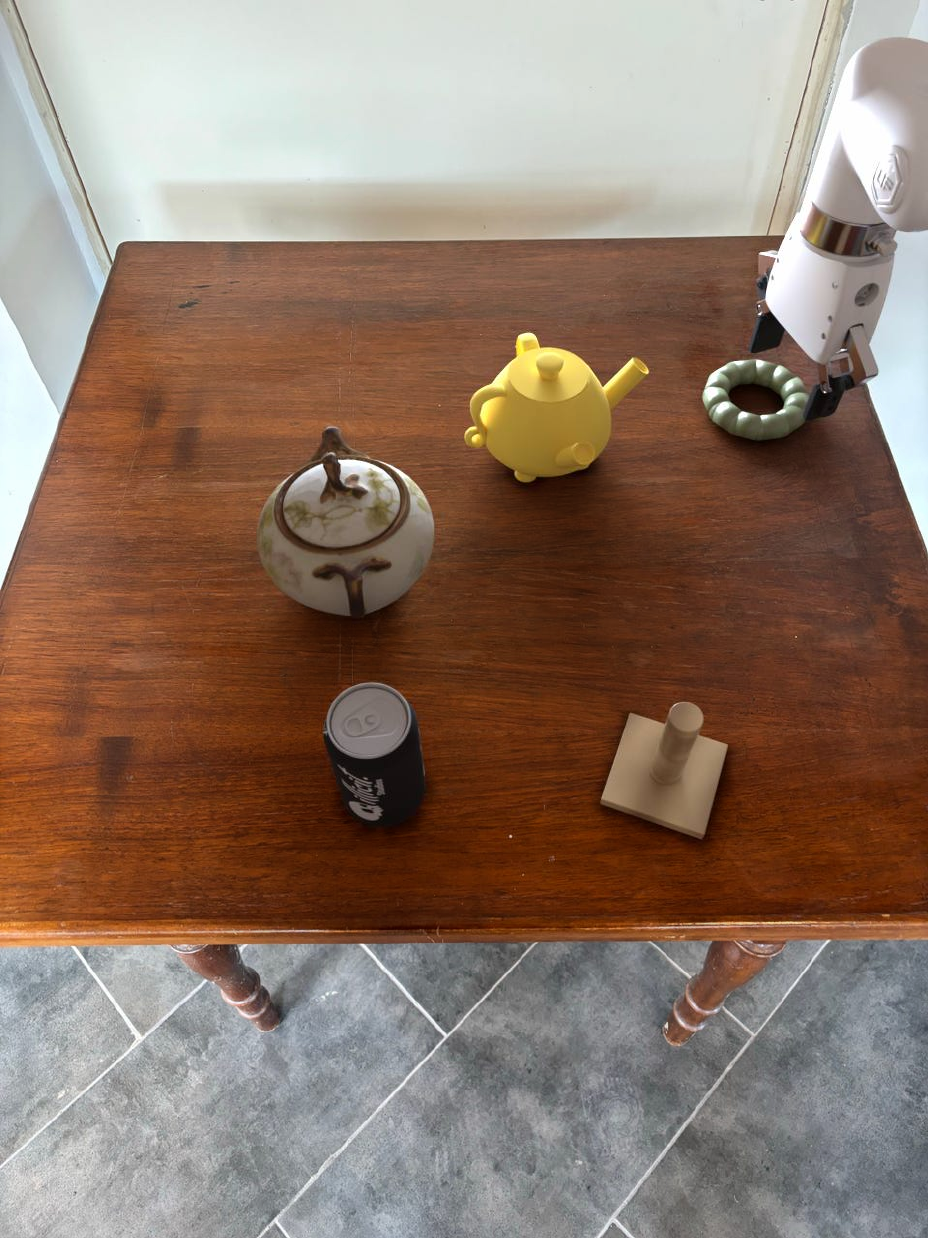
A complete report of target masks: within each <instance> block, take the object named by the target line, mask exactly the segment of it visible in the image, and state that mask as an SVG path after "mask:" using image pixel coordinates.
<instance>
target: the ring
mask: <svg viewBox="0 0 928 1238" xmlns="http://www.w3.org/2000/svg"><path fill="white" fill-rule="evenodd" d="M750 384H751V385H753V384H754V385H757V386H761V387H764V388H765V387H766V388H769V389H770V390H771V391H773V392H775V393H776V394H778V395H779V396H780V398H781V399H782V402H783V403H784V404H783V407H782V409H780V410H779V411H777V412H776V413H771V414H770V413H769V414H762V415H759V414H755V413H751V412H748V411H747V412H746V411H743V410H742V409H740V407H737V406H736V405H735V404H734V403H732V402H731V399H730V397H729V392H730V390H732V389H733V388H735V387H737V386H743V385H750ZM809 397H810V394H809V392H808V389H807V388H806V386H805V384H804V383H803V380H802V379H801V378H800V377H799V376H798V375H796V374H795V373H793V372H791V371H790V370H789V369H787V368H786V367H785V366H783V365H781V364H779V363H774V362H769V361H766V360H761V359H756V358H753V359H744V360H736V361H730V362H728V363H726V364H725V365H723V366H722V367H720V368H718V369H717V370H715V371H714V372H712V373H711V374H710V375H709V377H708V379H707V381H706V384H705V387H704V389H703V392H702V402H703V405H704V407H705V410H706V411H707V413H708V416H709V419H711V421H712V422H714V423H716V425H718V426H719V427H720V428H721V429H723V430H724V431H725V432H727V433H728V434H730V435H733V436H735V437H740V438H743V439H748V440H751V441H752V440H753V441H757V442H759V441H768V440H776V439H782V438H785V437H786V436H788V435H789V434H791V433H793V432H794V431H795V430H797V429H799V428H800V427H801V426H802V425H803V424H805V422H806V421H805V420H804V419H803V417H802V416H803V412H804V409H805V407H806V404H807V402H808V399H809Z"/></svg>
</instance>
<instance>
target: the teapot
mask: <svg viewBox="0 0 928 1238" xmlns="http://www.w3.org/2000/svg"><path fill="white" fill-rule="evenodd" d="M515 349H516V357H515V358H514V359H512V361H510V362H509V363H508V364H507V365H506V366H505V367H504V368H503V369H502V371H500V372H499V374H497V376H496V377H495V378H494V380H493V381H492V383H491V384H489V385H485V386H483V387H482V388H480V389H478V390H476V392H474V393H473V395H472V396H471V399H470V402H469V412H470V415H471V418H472V421H473V423H474V426H470V427H468V429H467V430H466V431H465V433H464V442H465V444H466V445H467V446H468V447H470V448H471V449H479V448H482V447H484V446H485V447H486V448H487V450H488V451H489V453H490V454H491V455H492V456H493V457H494V458H495V459H496V460H497V461H499V462H500V463H501V464H502V465H505V466H506V467H507V468H509V469H511V470H512V471H514V477H515V478H516V479H517V480H518V481H520V482H522V483H530V482H533V481H535V480H536V479H537V478H538V477H539V478H552V477H559V476H564V475H568V474H571V473H574V472H577V471H581V470H585V469H586V468H588V467H589V466H590V464H591V463H592V462H593V461H595V460H597V458H598V457H599V456H600V455H601V454H602V452H603V451H604V450H605V448H606V447H607V445H608V443H609V440H610V437H611V432H612V431H611V430H612V415H611V413H612V412H611V411H612V410H613V409H614V408H615V406H617V405H618V404H619V403H620V402H621V401H622V400H623V399H624V398H625V397H626V396H627V395H628V394H629V393H630V392H631V391H632V390H633V389H634V388H635V387H637V385H638V384H639V383H640V382H641V381H642V380H643V379H644V378H646V376H648V375H649V373H650V372H649V371H650V370H649V369H648V367H647V365H646V364H645V363H644V362H643V361H642V360H640V359H639V358H637V357H632V358H631V359H630V360H629V361H628V362H627V363H626V364H625V365H624V366H623V367H622V368H621V369H620V370H619V371H618V372H617V373H616V374H615V375H614V376H613V377H612V378H611V379H610V380H609V381H608V382H607V383H606V384H605V385H604V386H602V384H601V382H600V380H599V378H598V377H597V376H596V375H595V373H594V372H593V371H592V369H591V368H590V366H589V365H588V363H586V362H585V361H584V360H583V359H582V358H581V357H579V356H578V355H576V354H575V353H573V352H571V351H569V350H566V349H562V348H558V347H540V344H539V341H538V338H537V337H536V335H535V334H533V333H531V332H525V333H522V334H520V335H518V337H517V338H516V345H515Z"/></svg>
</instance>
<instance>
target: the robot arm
mask: <svg viewBox="0 0 928 1238" xmlns="http://www.w3.org/2000/svg"><path fill="white" fill-rule="evenodd" d="M897 231H899V232H901V233H920V232H926V231H928V41H925V40H921V39H917V38H912V37H904V36H903V37H902V36H891V37H884V38H879V39H876V40H873V41H871V42H868V43H866V44H865V45H863V46H862V47H860V48H859V49H858V50H857V51H856V52H855V53H854V54H853V55H852V57H851V58H850V59H849V62H848V63H847V65H846V67H845V69H844V72H843V75H842V78H841V80H840V84H839V87H838V91H837V94H836V97H835V100H834V103H833V106H832V110H831V113H830V116H829V119H828V123H827V125H826V129H825V132H824V135H823V139H822V141H821V144H820V148H819V151H818V154H817V158H816V161H815V163H814V166H813V171H812V174H811V177H810V180H809V183H808V187H807V190H806V194H805V196H804V199H803V203H802V206H801V209H800V210H799V211H798V212H797V213H796V215H795V217H794V218H793V221H792V222H791V224H790V226H789V228H788V230H787V232H786V234H785V236H784V239H783V240H782V243H781V245H780V248H779V250H774V249H772V250H768V251H764V252H760V253H759V254H758V257H757V269H758V275H759V277H758V278H756V282H755V283H756V288H757V295H758V299H759V301H757V302H756V304H755V312H756V314H757V315H758V316H757V318H756V321H755V325H754V327H753V331H752V334H751V338H750V340H749V344H748V347H747V349H748V351H749V352H750V353H751V354H753V355H756V354H758V353H763V352H766V351H769V350H774V349H776V348H778V347H780V345H781V343H782V340H783V337H784V334H785V331H786V332H787V333H788V334H789V335H790V336H791V338H792V339H793V341H795V342H796V344H797V345H798V346H799V347H800V348H801V349H802V350H803V352H804V353H805V354H807V356H808V357H809V358H810V359H811V360H812V361H814V362H816V363H817V371H818V379H819V383H816V384H815V385H814V386H813V387H812V389H811V391H810V394H809V396H810V397H809V399H808V402H807V404H806V407H805V409H804V412H803V416H802V417H803V419H804V420H805V422H812V421H815V420H818V419H821V418H822V419H823V418H827V417H830V416H832V415H834V414H835V412H836V411H837V409H838V407H839V405H840V402H841V400H842V398H843V395H844V393H845V391H849V390H852V389H856V388H860V387H863V386H865V385H866V384H867V383H868V382H870V381H871V380H873V379H875V378H876V377H877V376H878V375H879V367H878V364H877V362H876V359H875V355H874V354H873V351H872V348H871V346H870V343H871V341H872V339H873V336H874V334H875V332H876V329H877V325H878V323H879V320H880V317H881V314H882V311H883V308H884V306H885V302H886V299H887V296H888V292H889V288H890V283H891V281H892V275H893V270H894V269H893V268H894V264H895V255H896V254H895V252H896V251H897V248H898V242H897V241H896V240H895V239H894V238H895V236H896V234H897ZM836 361H839V366H840V373H839V374H837V375H834V374H833V366H832V362H836Z"/></svg>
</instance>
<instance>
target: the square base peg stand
mask: <svg viewBox="0 0 928 1238" xmlns="http://www.w3.org/2000/svg"><path fill="white" fill-rule="evenodd" d="M704 721H705V720H704V714H703V712H702V710H701V709H700V708H699V706H697V705H695V704H694V703H691V702H688V701H681V702H677V703H675V704H674V705H672V706H671V708H670V709H669V712H668V714H667V717H666V720H665V723H663V722H660V721H657V720H654V719H650V718H647V717H644V716H641V715H638V714H635V713H632V712H630V713H629V714H628V718H627V720H626V724H625V726H624V729H623V732H622V736H621V739H620V742H619V745H618V748H617V749H616V754H615V757H614V758H613V763H612V765H611V768H610V771H609V774H608V777H607V780H606V782H605V783H606V784H605V786H604V789H603V792H602V795H601V799H600V802H599V803H600V805H601V806H605V807H608V808H611V809H614V810H616V811H619V812H623V813H625V814H628V815H631V816H634V817H636V818H639V819H642V820H645V821H648V822H651V823H654V824H657V825H660V826H662V827H665V828H668V829H671V830H673V831H677V832H679V833H682V834H685V835H687V836H690V837H692V838H693V837H694V838H697V839H699V840H703V839H704V837H705V834H706V831H707V827H708V823H709V820H710V816H711V812H712V808H713V805H714V801H715V797H716V793H717V789H718V785H719V782H720V779H721V778H720V777H721V774H722V769H723V766H724V762H725V759H726V754H727V751H728V747H729V744H727V743H724V742H721V741H718V740H715V739H712V738H709V737H705V736H702V735H700V731H701V729H702V727H703V724H704Z"/></svg>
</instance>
